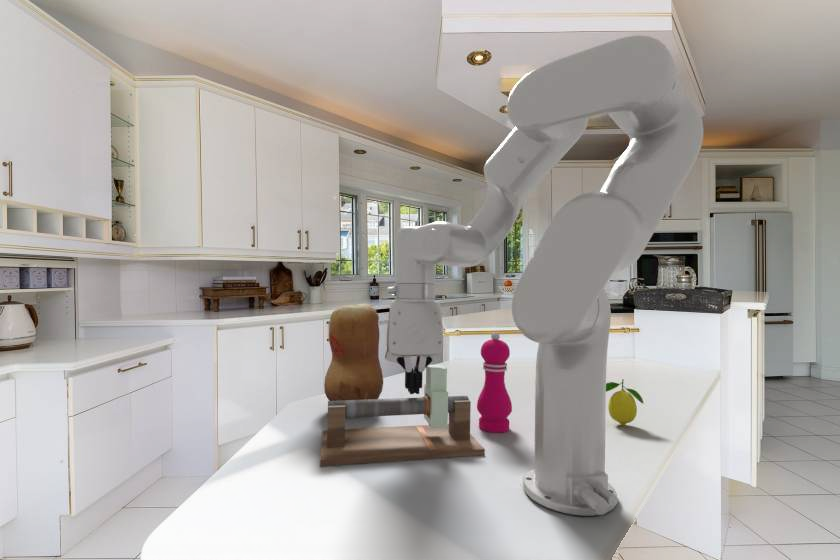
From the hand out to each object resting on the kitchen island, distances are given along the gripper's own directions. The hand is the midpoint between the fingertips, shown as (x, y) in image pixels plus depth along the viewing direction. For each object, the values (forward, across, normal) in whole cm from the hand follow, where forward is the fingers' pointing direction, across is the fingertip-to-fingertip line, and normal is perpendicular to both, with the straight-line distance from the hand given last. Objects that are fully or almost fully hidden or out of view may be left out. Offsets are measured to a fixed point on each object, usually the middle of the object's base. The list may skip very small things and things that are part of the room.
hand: (413, 392), depth 78 cm
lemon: (+10, +46, +3) cm, 48 cm away
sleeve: (+6, +4, 0) cm, 7 cm away
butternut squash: (+10, -10, +22) cm, 26 cm away
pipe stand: (+10, -2, 0) cm, 10 cm away
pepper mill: (+10, +18, +6) cm, 22 cm away
